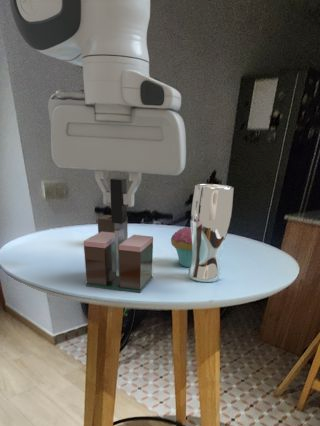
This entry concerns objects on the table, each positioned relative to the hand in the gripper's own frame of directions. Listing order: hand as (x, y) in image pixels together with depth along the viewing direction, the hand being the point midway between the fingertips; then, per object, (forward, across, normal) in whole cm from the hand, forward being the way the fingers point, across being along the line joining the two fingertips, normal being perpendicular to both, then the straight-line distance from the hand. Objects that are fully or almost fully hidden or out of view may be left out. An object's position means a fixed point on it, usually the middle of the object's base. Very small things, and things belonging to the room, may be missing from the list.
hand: (119, 205), depth 58 cm
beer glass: (+12, +14, +8) cm, 20 cm away
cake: (+12, 0, 0) cm, 12 cm away
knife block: (+12, -10, +25) cm, 30 cm away
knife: (+11, 0, 0) cm, 11 cm away
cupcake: (+12, +10, +16) cm, 23 cm away
